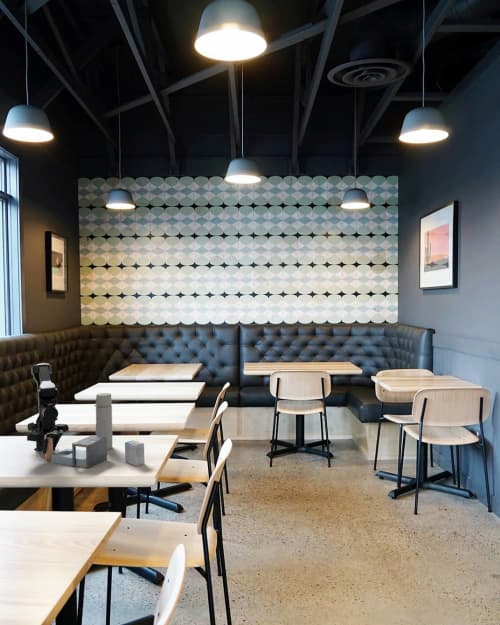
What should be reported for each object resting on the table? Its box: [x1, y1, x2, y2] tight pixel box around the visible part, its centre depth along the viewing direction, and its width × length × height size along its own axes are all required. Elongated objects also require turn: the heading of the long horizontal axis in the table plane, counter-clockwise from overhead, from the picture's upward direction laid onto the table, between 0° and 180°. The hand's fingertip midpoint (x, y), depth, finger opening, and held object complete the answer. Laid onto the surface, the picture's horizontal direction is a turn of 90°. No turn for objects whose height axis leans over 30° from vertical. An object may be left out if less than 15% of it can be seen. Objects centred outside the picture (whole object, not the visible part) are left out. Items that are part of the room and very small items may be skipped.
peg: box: [44, 437, 54, 461], centre depth 212 cm, size 3×3×9 cm
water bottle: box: [94, 392, 113, 451], centre depth 227 cm, size 9×8×25 cm
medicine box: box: [124, 439, 145, 467], centre depth 206 cm, size 8×4×9 cm, turn 47°
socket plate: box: [50, 448, 86, 468], centre depth 209 cm, size 10×19×3 cm, turn 69°
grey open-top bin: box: [71, 435, 108, 469], centre depth 207 cm, size 12×8×10 cm, turn 159°
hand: (48, 452), depth 212 cm, fingers open, 5 cm apart
